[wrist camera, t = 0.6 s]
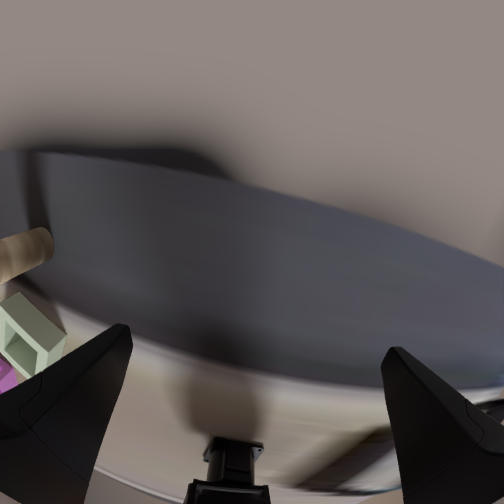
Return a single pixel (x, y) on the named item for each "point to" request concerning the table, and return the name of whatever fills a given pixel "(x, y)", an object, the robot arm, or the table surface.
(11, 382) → the bracket
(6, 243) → the beige cylinder
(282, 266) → the table surface
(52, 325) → the square frame
